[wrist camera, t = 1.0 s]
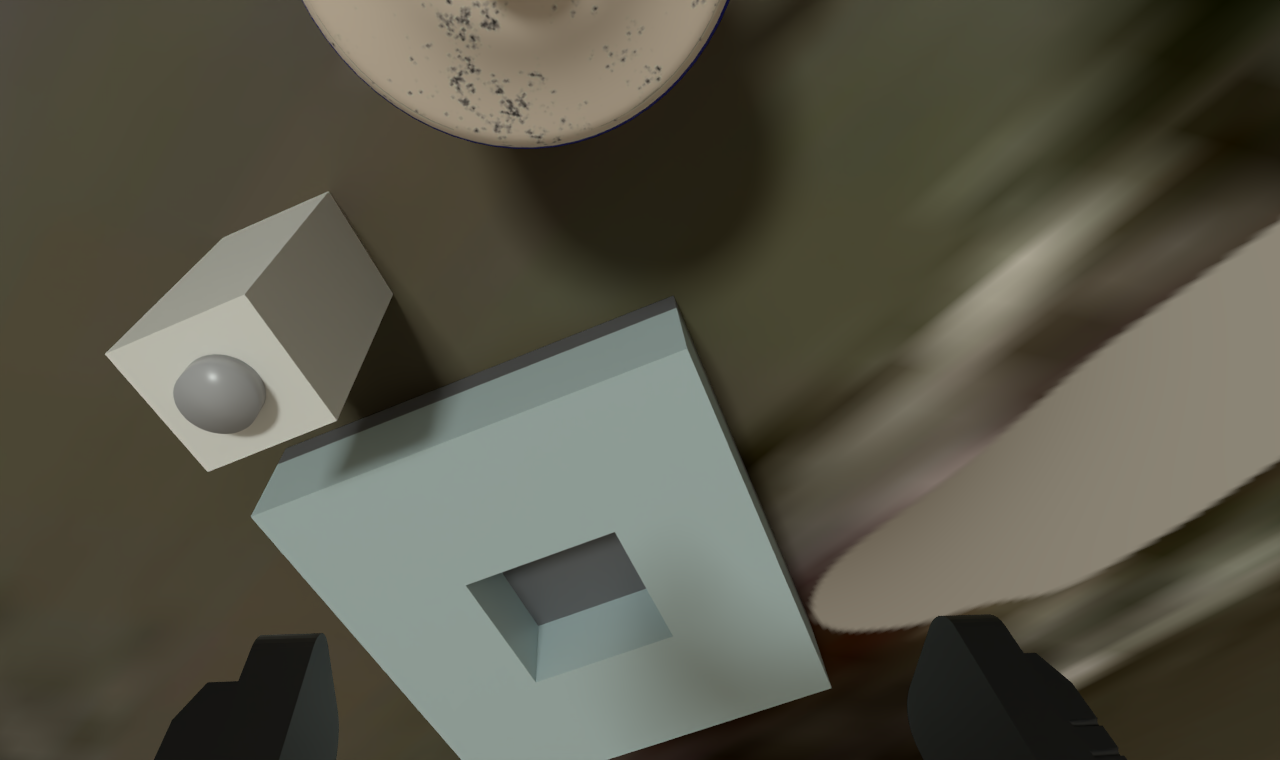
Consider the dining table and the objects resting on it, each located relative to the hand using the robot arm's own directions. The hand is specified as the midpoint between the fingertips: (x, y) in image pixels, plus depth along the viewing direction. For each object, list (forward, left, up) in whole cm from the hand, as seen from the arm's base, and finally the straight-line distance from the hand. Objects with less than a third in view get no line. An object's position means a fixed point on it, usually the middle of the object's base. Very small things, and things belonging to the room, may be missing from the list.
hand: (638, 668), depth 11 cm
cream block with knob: (+10, -2, -19) cm, 22 cm away
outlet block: (+7, +13, -19) cm, 24 cm away
